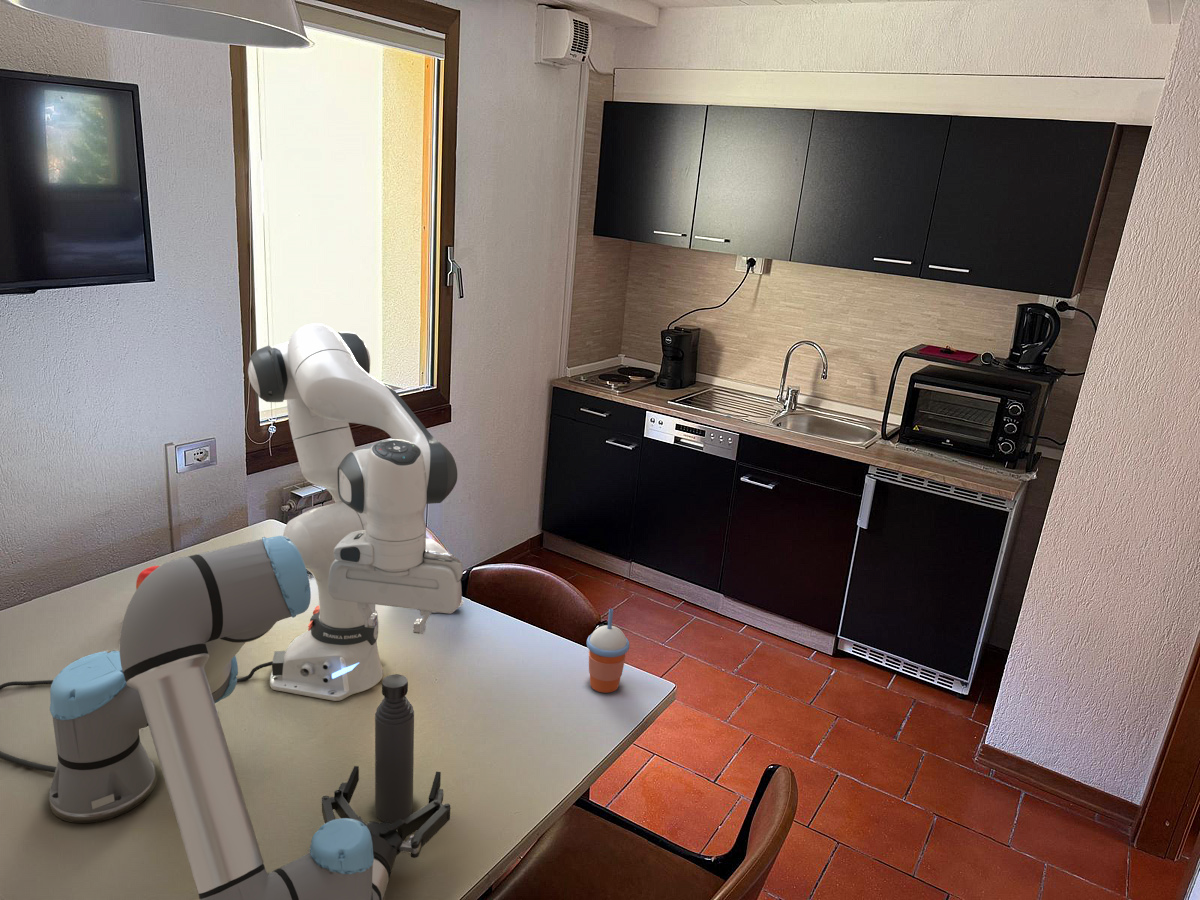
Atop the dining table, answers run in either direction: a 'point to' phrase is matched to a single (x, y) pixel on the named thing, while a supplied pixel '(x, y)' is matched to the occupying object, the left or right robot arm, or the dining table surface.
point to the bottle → (394, 759)
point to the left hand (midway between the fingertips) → (397, 775)
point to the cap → (394, 686)
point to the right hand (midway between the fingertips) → (395, 629)
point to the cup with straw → (606, 656)
